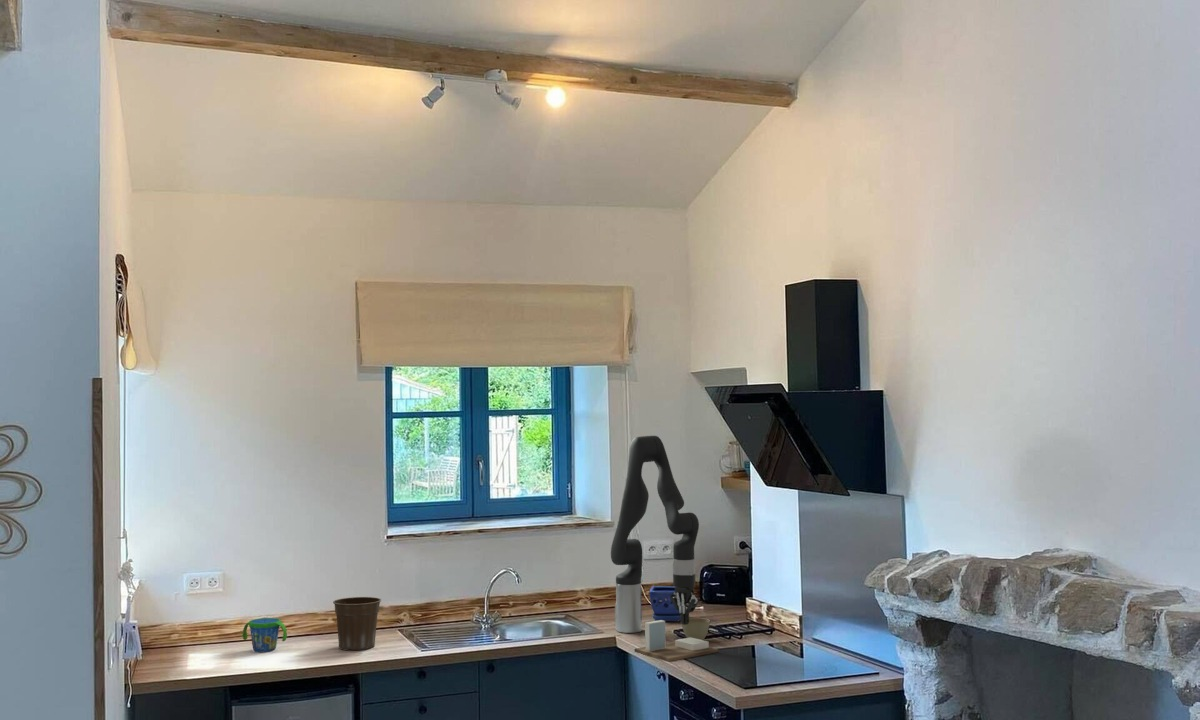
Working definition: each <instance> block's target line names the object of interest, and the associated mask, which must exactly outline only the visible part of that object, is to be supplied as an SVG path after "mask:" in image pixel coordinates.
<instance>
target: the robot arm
mask: <svg viewBox="0 0 1200 720" xmlns="http://www.w3.org/2000/svg"><path fill="white" fill-rule="evenodd" d="M651 462H654V463H655V465H656V467H657V470H658V476H657V482H656V483H657V488H656V489H657V494H658V496H659V499H660V501H661V503H662V505H663V507H664V511H665V512H664V513H665V517H666V523H667V528H668V529H669V531H670V532H671V533H672V534H673V535H677V536H678V535H682V537H681V539H680V540H678V541H675V542H674V544H673V550H672V551H673V552H672V553H673V564H672V578H673V579H672V587H675V592H674V593H673V594H671V595H670V597H671V600H672V602H673V604H674V606H675V608H676V610H678V611H679V612H680V617H681V618H680V620H679V621H680V624H681V625H682V624H683V625H687V624H689V618H690V614H691V613H693V612H694V611H695V609H696V607H697V605H698V604H699V602H700V598H699V597H696V595H695V590H694V588H695V586H696V562H695V545H696V541H697V537H698V533H699V527H700V524H699V523H700V522H699V518H698V517H697V515H696V513H694V512H681V513H680V512H679V511H680V510H681V509H682V508H684V506H685V500H684V498H683V496H682V494H681V491H680V490H679V488H678V486H677V484H676V480H675V478H674V476H673V472H672V468H671V464H670V462H669V458H668V455H667V452H666V448H665V445H664V443H663V441H662V439H661V437H659V436H658V435H643V436H642V435H641V436H635V437H634V438H633V439H632V440H631V442H630V446H629V452H628V461H627V471H626V479H625V485H624V490H623V494H622V499H621V507H620V512H619V516H618V521H617V526H616V529H615V532H614V535H613V540H612V543H611V547H610V559H611V562H612V563H613V565H616V566H627V568H626V569H625V570H624V571H623V572H620V573H619V574H617V575H616V576H615V598H616V600H615V602H616V603H615V604H614V621H615V622H614V624H615V625H614V626H615V630H616V631H617V632H618V633H625V634H626V633H627V634H629V633H630V634H633V633H639V632H641V631H643V626H642V621H643V619H642V614H643V613H642V575H643V546H642V543H641V541H640V540H639V539H637V538H629V536H630V534H631V532H632V531H633V529H634V528H635V527H636V526H637V524H639V522H640V521H641V520H642V519H643V517H644V515H646V511H647V508H648V503H649V497H650V496H649V491H648V488H647V485H646V484H645V481H644V479H643V476H642V473H643V465H644V463H651ZM677 604H678V605H677Z"/></svg>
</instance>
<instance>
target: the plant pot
mask: <svg viewBox="0 0 1200 720" xmlns="http://www.w3.org/2000/svg"><path fill="white" fill-rule="evenodd" d="M381 602H382V599H381V598H379V597H374V596H373V597H372V596H355V597H354V596H353V597H343V598H339V599H335V600H333V602H332V603H333V604H334V612H335V614H336V626H337V639H338V648H339V649H340V650H345V651H348V650H352V651H364V650H368V649H372V648H373V647H375V645H376V643H375V642H376V635H377V634H376V633H377V624H378V623H377V622H378V615H379V614H378V613H379V611H380V604H381Z"/></svg>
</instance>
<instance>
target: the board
mask: <svg viewBox="0 0 1200 720" xmlns="http://www.w3.org/2000/svg"><path fill="white" fill-rule="evenodd" d="M718 652H719V648H716V647H711V646H709V648H706V649H700V650H695V651H692V650H688V649H684V648H680V647H676V646H675V641H670V642H666V648H664V649H659V650H653V651H647V650H645V646H643V647H639V648H638V647H637V648H634V653H637V654H640V655H645V656H649V657H652V658H654V659H655V658H656V659H659V660H663V661H666V662H673V661H677V660H683V659H690V658H694V657H699V656H704V655H709V654H713V653H714V654H715V653H718Z"/></svg>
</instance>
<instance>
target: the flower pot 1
mask: <svg viewBox="0 0 1200 720" xmlns="http://www.w3.org/2000/svg"><path fill="white" fill-rule="evenodd" d="M674 592H675V587H674V586H673V585H672V586H668V585H667V586H662V585H660V586H656V585H655V586H652V587H650V590H649V601H650V606H651V609H652V611H653V613H652V619H653V621H658V620H664V621H665V622H679V621H680V618H681V617H680V612H679V611H678V610H676V608H675V606H674V604H673V602H672V600H671V597H670V595H671V594H673V593H674ZM677 605H678V604H677Z"/></svg>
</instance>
